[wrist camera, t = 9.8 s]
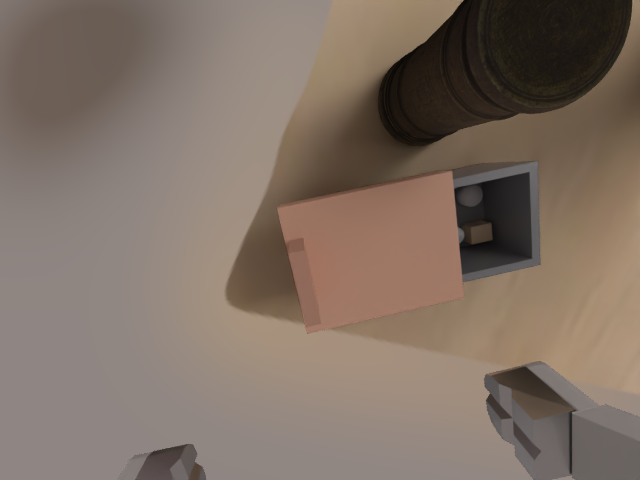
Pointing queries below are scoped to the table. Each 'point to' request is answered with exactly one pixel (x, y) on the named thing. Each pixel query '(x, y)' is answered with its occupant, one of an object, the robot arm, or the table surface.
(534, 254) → the tub
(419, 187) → the lid
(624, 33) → the container
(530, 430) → the robot arm
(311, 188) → the table surface
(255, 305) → the table surface
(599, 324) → the table surface
